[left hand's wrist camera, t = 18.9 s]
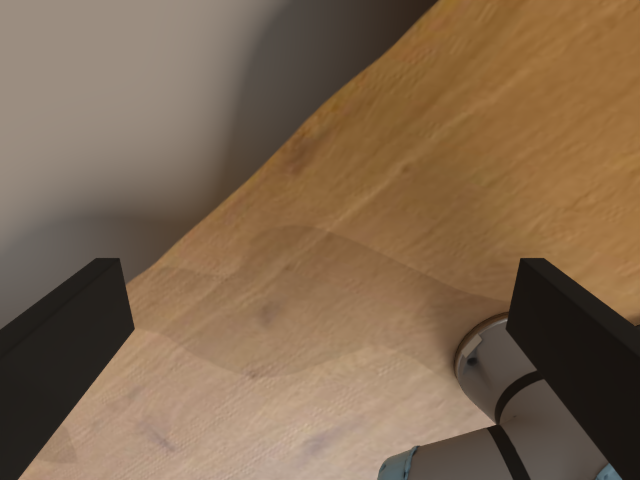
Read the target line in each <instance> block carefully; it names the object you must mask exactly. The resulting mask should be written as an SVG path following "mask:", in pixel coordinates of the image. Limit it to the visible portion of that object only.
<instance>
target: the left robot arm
mask: <svg viewBox="0 0 640 480" xmlns="http://www.w3.org/2000/svg"><path fill="white" fill-rule="evenodd" d="M134 329H135V328H134V323H133V319H132V314H131V309H130V305H129V300H128V296H127V291H126V286H125V282H124V277H123V272H122V268H121V263H120V259H119V258H96V259H94V260H93V261H92V262H90V263H89V264H88V265H86V266H85V267H84V268H82V269H81V270H80V271H78V272H77V273H76V274H74V275H73V276H71V277H70V278H69V279H67V280H66V281H65V282H63V283H62V284H61V285H60V286H58V287H57V288H55V289H54V290H53V291H51V292H50V293H49V294H48V295H46V296H45V297H43V298H42V299H41V300H40V301H38V302H37V303H35V304H34V305H33V306H31V307H30V308H29V309H27V310H26V311H25V312H23V313H22V314H21V315H19V316H18V317H17V318H15V319H14V320H13V321H11V322H10V323H9V324H7V325H6V326H5V327H3V328H2V329H1V330H0V480H18V479H19V477H20V476H21V475H22V474H23V472H24V471H25V470H26V468H27V467H28V466H29V465H30V463H31V462H32V461H33V459H34V458H35V457H36V456H37V454H38V453H39V452H40V450H41V449H42V448H43V447H44V445H45V444H46V443H47V441H48V440H49V439H50V438H51V436H52V435H53V434H54V432H55V431H56V430H57V428H58V427H59V426H60V425H61V423H62V422H63V421H64V419H65V418H66V417H67V416H68V414H69V413H70V412H71V410H72V409H73V408H74V407H75V405H76V404H77V403H78V401H79V400H80V399H81V398H82V396H83V395H84V394H85V392H86V391H87V390H88V389H89V387H90V386H91V385H92V383H93V382H94V381H95V380H96V378H97V377H98V376H99V374H100V373H101V372H102V371H103V369H104V368H105V367H106V365H107V364H108V363H109V362H110V360H111V359H112V358H113V356H114V355H115V354H116V353H117V351H118V350H119V349H120V347H121V346H122V345H123V344H124V342H125V341H126V340H127V338H128V337H129V336H130V335H131V333H132V332H133V331H134ZM454 368H455V374H456V377H457V379H458V382H459V384H460V386H461V388H462V390H463V391H464V393H465V394H466V395H467V396H468V398H469V399H470V400H471V401H472V402H473V403H474V404H475V405H476V406H477V407H479V408H480V409H481V410H482V411H483V412H484V413H485V414H486V415H487V416H488V417H489V418H490V419H491V420H492V421H493V422H494V423H496V425H494V426H491V427H487V428H483V429H480V430H476V431H473V432H469V433H466V434H463V435H459V436H456V437H452V438H449V439H446V440H442V441H438V442H435V443H431V444H427V445H424V446H414V447H413V448H412V449H411V450H408V451H406V452H403V453H400V454H397V455H394V456H392V457H389V458H388V459H386V460H385V461H384V463H383V464H382V466H381V468H380V470H379V474H378V478H377V480H640V325H637V326H634V325H633V324H631V323H630V322H629V321H627V320H626V319H625V318H623V317H622V316H621V315H619V314H618V313H617V312H615V311H614V310H613V309H611V308H610V307H609V306H607V305H606V304H605V303H603V302H602V301H601V300H599V299H598V298H597V297H595V296H594V295H593V294H591V293H590V292H589V291H587V290H586V289H585V288H583V287H582V286H581V285H579V284H578V283H577V282H575V281H574V280H573V279H571V278H570V277H569V276H567V275H566V274H564V273H563V272H562V271H560V270H559V269H558V268H556V267H555V266H554V265H552V264H551V263H550V262H548V261H547V260H546V259H544V258H520V263H519V268H518V272H517V277H516V282H515V286H514V291H513V296H512V300H511V305H510V309H509V312H506V313H502V314H499V315H496V316H494V317H491V318H489V319H487V320H485V321H483V322H482V323H480V324H479V325H477V326H476V327H475V328H474V329H472V330H471V331H470V332H469V333H468V334H467V335H466V337H465V338H464V339H463V341H462V342H461V344H460V346H459V347H458V350H457V352H456V356H455V361H454Z"/></svg>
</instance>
